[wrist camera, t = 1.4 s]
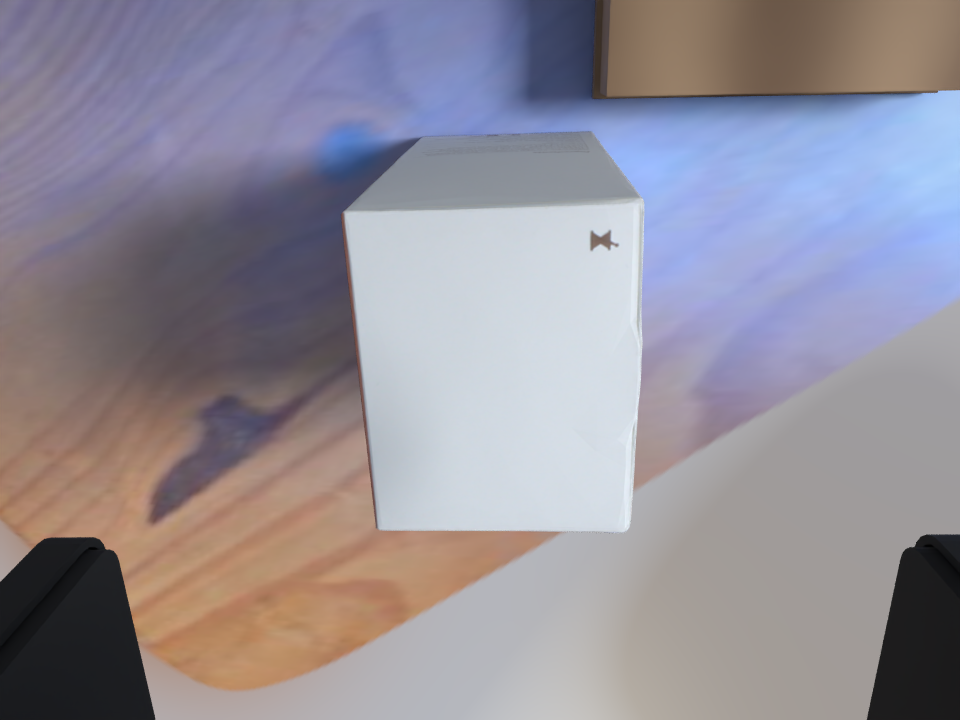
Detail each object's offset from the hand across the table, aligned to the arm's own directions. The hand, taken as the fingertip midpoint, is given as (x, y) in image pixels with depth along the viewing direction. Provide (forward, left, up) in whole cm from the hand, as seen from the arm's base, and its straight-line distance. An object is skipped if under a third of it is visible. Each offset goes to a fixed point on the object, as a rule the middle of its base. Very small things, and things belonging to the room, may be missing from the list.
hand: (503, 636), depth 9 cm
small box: (0, 0, -21) cm, 21 cm away
